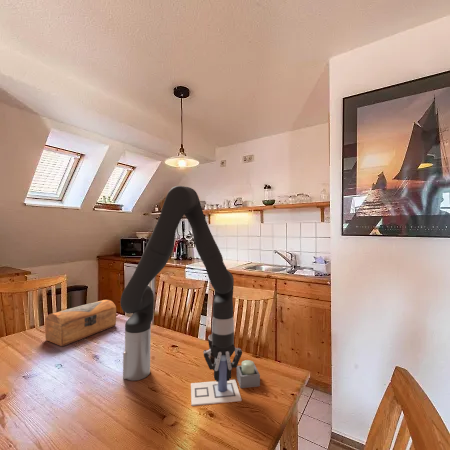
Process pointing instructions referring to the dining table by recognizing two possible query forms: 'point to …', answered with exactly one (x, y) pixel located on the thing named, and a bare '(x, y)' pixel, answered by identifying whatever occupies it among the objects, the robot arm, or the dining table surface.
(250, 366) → the button
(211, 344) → the coffee mug
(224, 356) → the marker
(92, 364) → the dining table surface
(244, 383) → the button housing
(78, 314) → the wooden box
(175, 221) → the robot arm
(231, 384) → the sheet
